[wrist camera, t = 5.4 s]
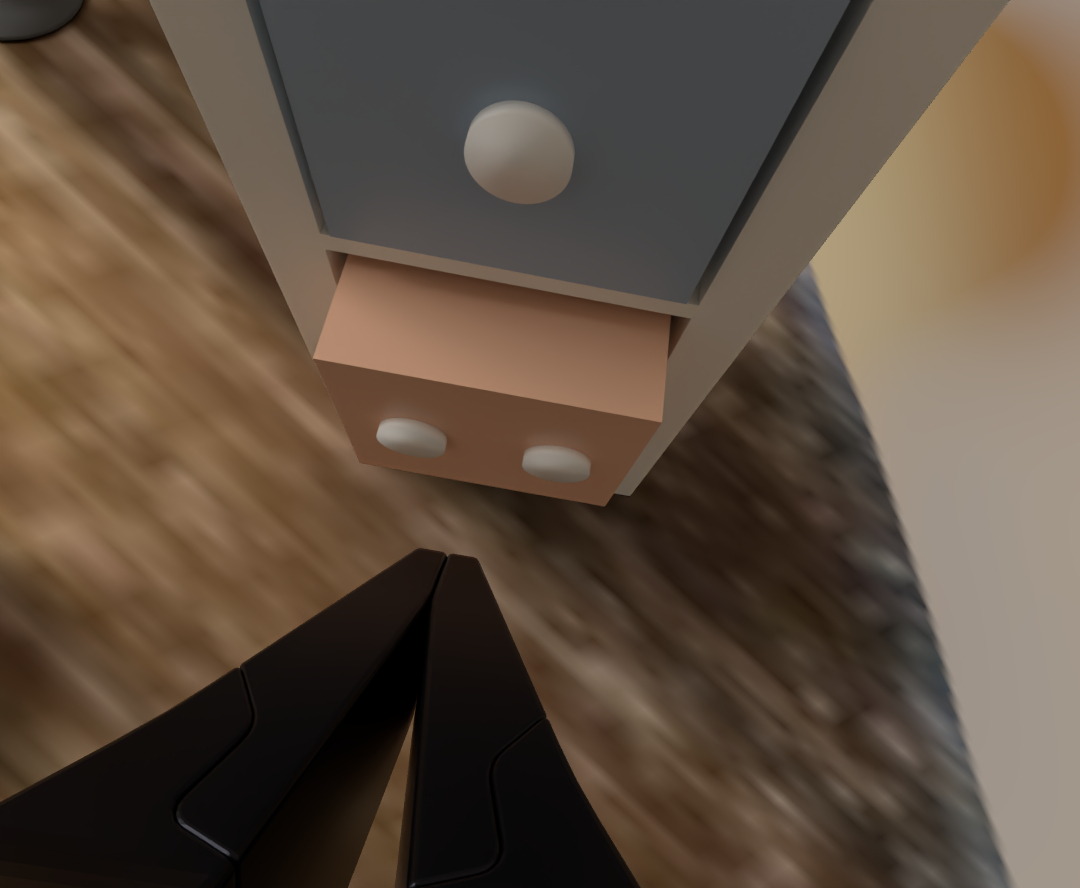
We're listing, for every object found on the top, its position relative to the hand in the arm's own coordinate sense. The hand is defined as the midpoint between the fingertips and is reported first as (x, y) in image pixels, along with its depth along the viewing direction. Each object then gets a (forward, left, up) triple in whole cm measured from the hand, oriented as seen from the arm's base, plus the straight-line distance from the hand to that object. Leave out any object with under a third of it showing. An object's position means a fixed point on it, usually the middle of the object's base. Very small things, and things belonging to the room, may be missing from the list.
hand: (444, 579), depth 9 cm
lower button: (+4, 0, -6) cm, 7 cm away
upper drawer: (+6, -1, 0) cm, 6 cm away
